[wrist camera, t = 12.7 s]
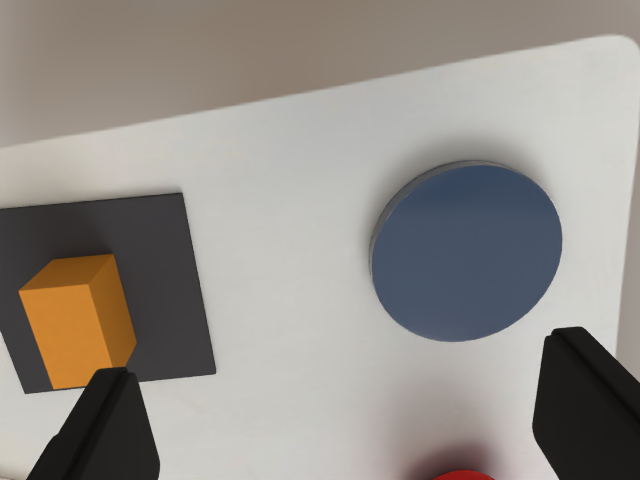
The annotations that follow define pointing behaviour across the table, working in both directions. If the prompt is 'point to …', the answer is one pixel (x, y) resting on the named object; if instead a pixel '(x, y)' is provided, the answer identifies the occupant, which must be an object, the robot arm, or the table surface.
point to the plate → (465, 251)
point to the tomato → (463, 476)
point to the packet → (79, 318)
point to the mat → (134, 271)
